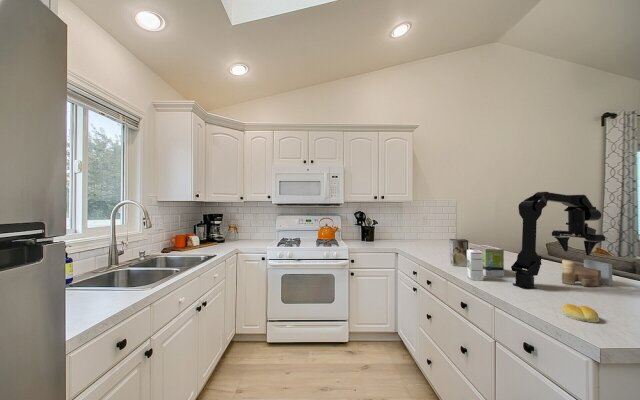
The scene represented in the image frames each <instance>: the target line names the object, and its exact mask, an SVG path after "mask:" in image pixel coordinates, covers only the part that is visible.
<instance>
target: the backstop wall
mask: <svg viewBox="0 0 640 400" xmlns="http://www.w3.org/2000/svg"><path fill="white" fill-rule="evenodd" d="M583 267H587V268H591V269H596V270H601V285H603V286H604V285H605V286H608V287H610V286H611V287H613V264H612V263H606V262H603V261H596V260H592V259H583Z"/></svg>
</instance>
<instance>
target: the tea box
mask: <svg viewBox="0 0 640 400" xmlns="http://www.w3.org/2000/svg"><path fill="white" fill-rule="evenodd" d="M469 250H479V251H481V252H482V254H483V277H493V278H495V277H498V278H500V277H501V278H502V277H505V276H504V273H505V268H504V267H505V266H504V264H505V263H504V262H505V261H504V260H505V258H504V257H505V256H504V255H505V253H504V248H499V247H495V246H493V245H487V244H469Z"/></svg>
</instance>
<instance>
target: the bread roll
mask: <svg viewBox="0 0 640 400" xmlns="http://www.w3.org/2000/svg"><path fill="white" fill-rule="evenodd" d="M560 310H561V313H563V314H562V315H564V316H565V315H566V316H565V317H567V316H568V318H570V317H571V318H570V319H572V318H573V319H572V320H575V319H577V321H580V322H587V323H593V324H594V323H599V322H600V319H599V313H598V312H597V311H596V310H595V309H594V308H591V307H589V306H586V305H579V306H577V305H575V304H573V303H572V304H569V303H568V304H564V305H562V307H561V308H560Z"/></svg>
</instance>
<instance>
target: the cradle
mask: <svg viewBox="0 0 640 400" xmlns="http://www.w3.org/2000/svg"><path fill="white" fill-rule="evenodd" d="M575 281H579V282H580V283H581V286H583V287H599V286H602V284H601V270H596V269H591V268H587V267H584V266H581V265H577V264H575Z"/></svg>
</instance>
